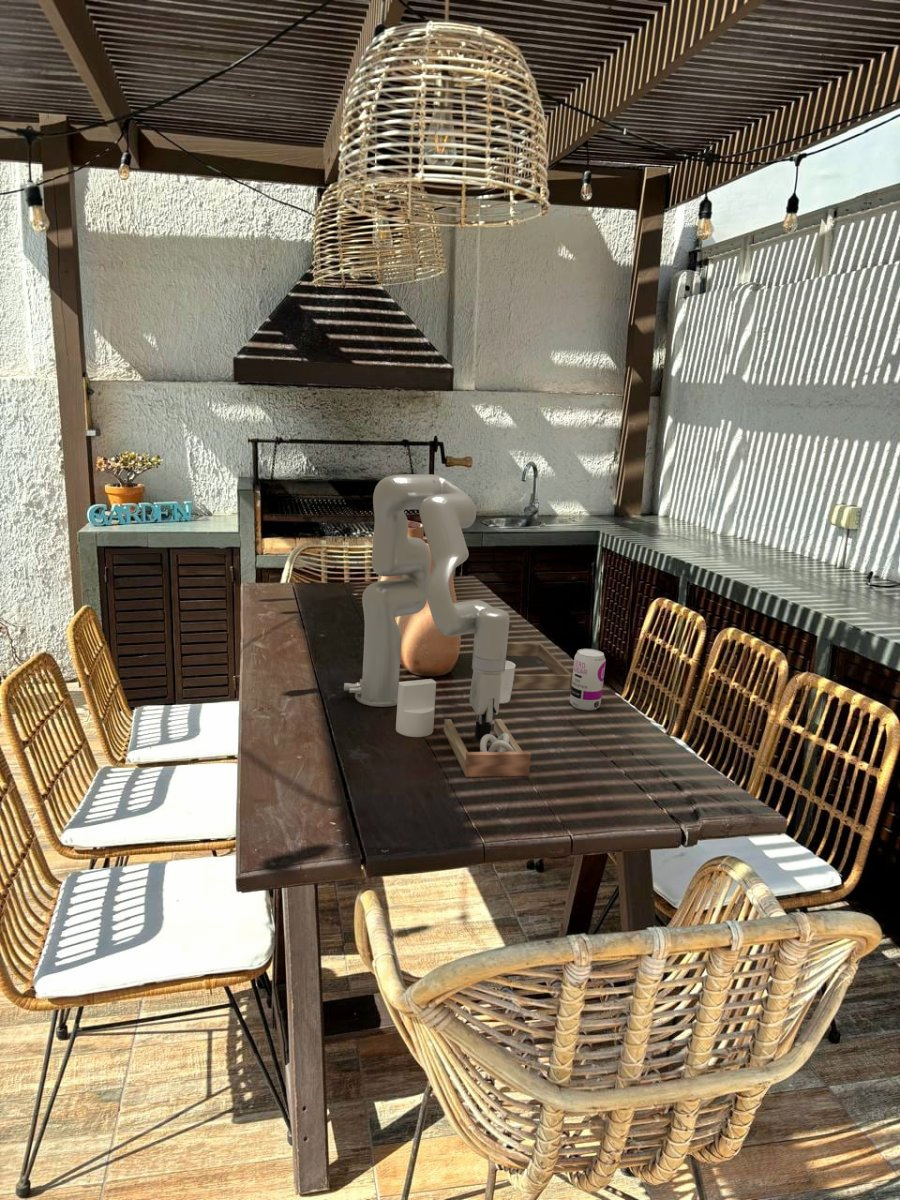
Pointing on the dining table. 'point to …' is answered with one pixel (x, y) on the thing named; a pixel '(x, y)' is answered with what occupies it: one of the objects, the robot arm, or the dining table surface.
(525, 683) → the serving tray rim
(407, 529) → the robot arm
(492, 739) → the knot
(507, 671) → the white cup
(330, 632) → the dining table surface
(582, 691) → the supplement can
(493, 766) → the guide channel
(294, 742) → the dining table surface
